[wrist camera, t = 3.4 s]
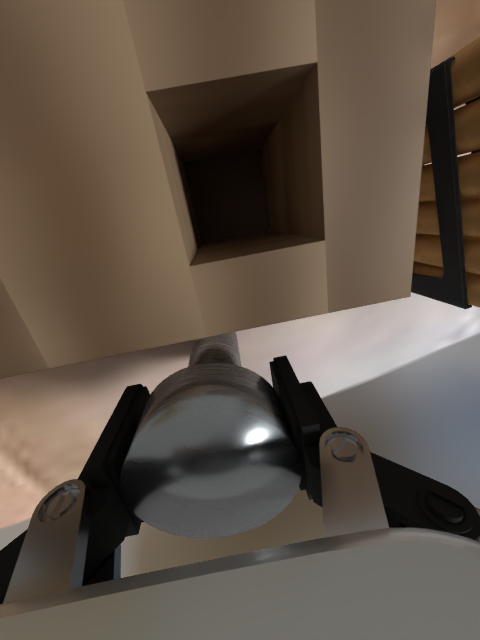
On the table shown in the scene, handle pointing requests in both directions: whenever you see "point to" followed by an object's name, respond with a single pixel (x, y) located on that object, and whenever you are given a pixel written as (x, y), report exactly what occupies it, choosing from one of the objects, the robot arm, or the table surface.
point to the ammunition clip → (450, 185)
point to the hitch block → (198, 143)
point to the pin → (211, 448)
